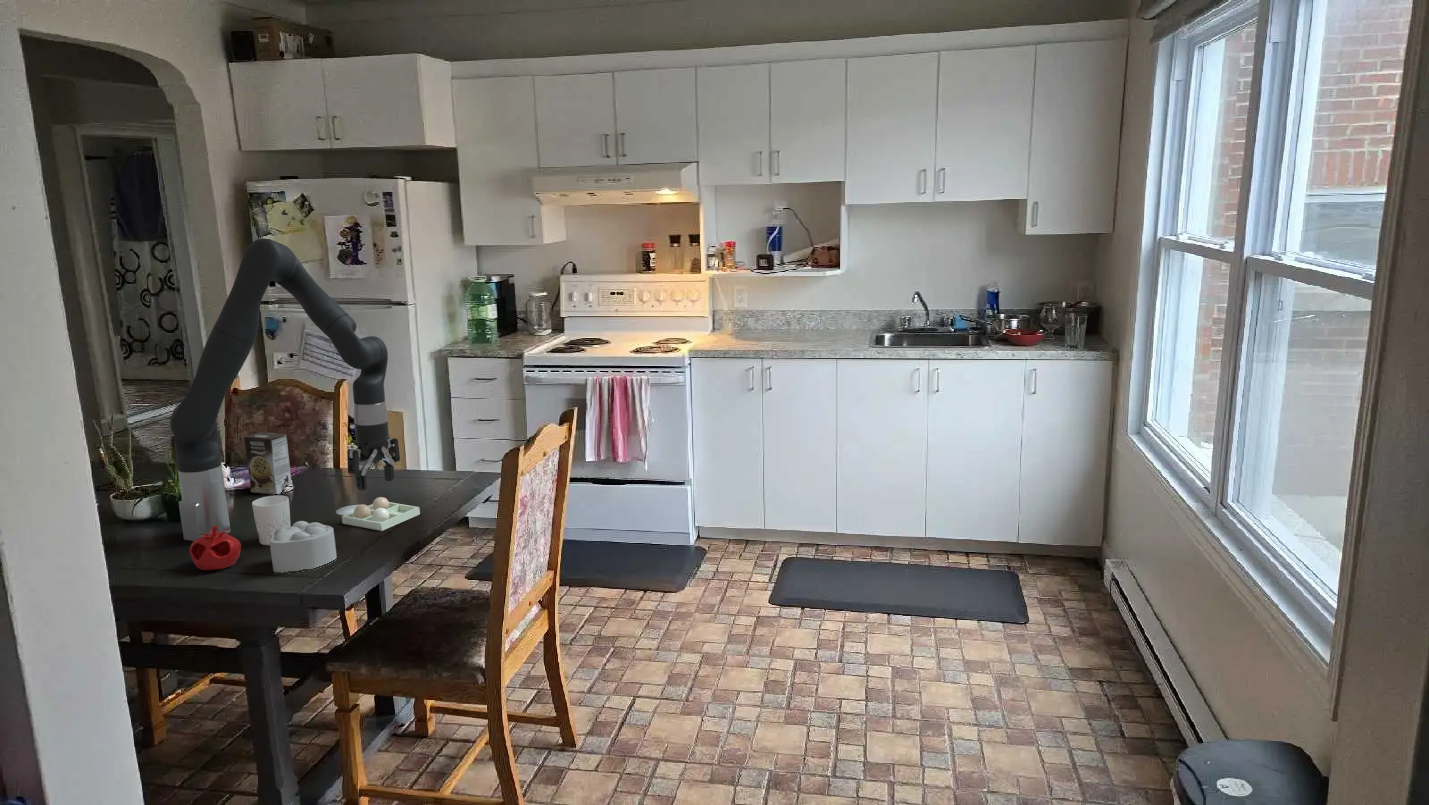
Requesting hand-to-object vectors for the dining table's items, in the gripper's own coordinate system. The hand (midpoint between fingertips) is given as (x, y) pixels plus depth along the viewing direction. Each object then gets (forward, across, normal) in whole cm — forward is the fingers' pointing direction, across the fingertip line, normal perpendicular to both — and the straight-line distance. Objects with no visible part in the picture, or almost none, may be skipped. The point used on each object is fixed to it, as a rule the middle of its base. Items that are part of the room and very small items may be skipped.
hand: (376, 485), depth 225 cm
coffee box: (+12, +10, +51) cm, 54 cm away
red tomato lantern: (+12, -32, +16) cm, 38 cm away
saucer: (+11, +6, +15) cm, 20 cm away
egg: (+10, +1, 0) cm, 10 cm away
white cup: (+12, -16, +17) cm, 26 cm away
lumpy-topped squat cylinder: (+12, -23, -1) cm, 26 cm away
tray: (+11, +4, +3) cm, 12 cm away
